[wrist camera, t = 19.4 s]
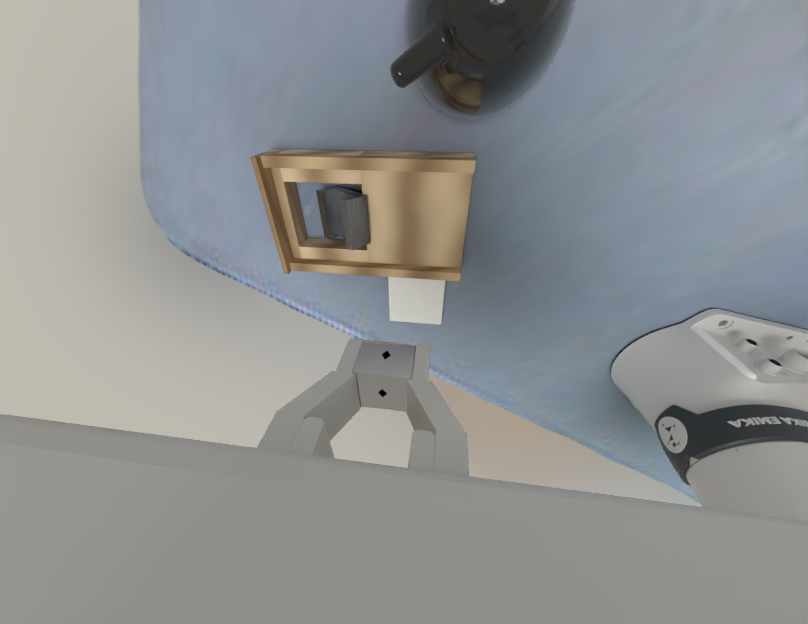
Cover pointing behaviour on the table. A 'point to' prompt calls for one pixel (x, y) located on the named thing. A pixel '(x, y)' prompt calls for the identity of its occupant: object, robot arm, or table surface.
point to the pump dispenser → (479, 51)
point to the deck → (373, 210)
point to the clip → (345, 215)
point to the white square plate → (416, 300)
